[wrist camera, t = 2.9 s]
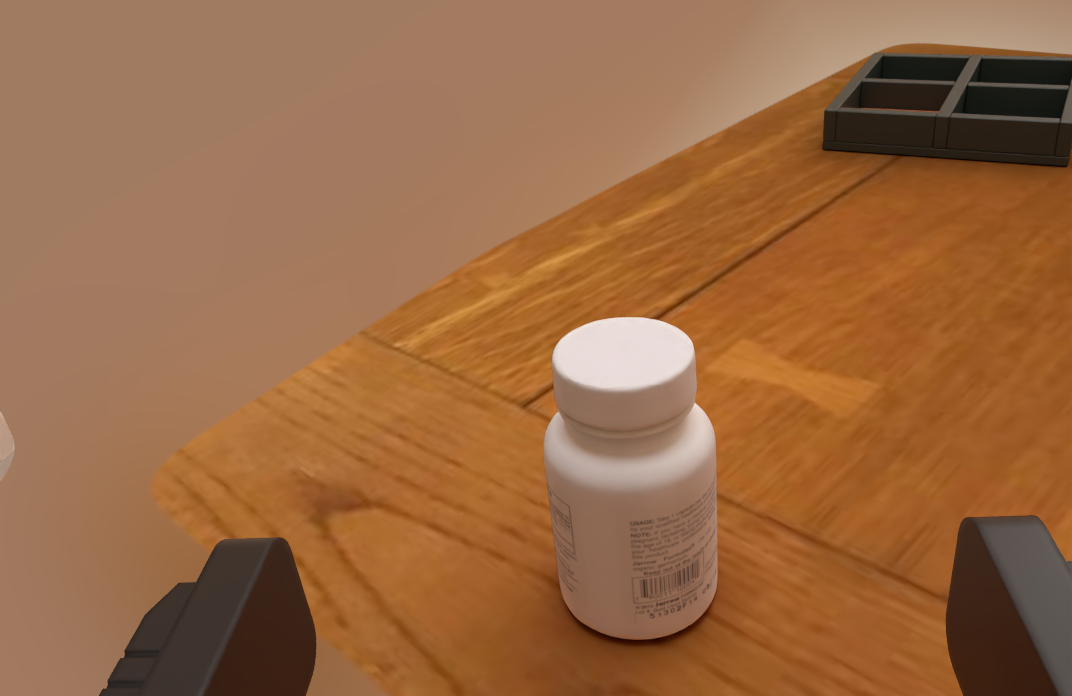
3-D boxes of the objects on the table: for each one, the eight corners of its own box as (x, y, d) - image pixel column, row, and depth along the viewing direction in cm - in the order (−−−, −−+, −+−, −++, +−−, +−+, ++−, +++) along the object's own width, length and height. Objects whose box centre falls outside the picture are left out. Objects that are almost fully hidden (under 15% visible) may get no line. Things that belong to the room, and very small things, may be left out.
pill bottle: (737, 552, 27) (737, 318, 24) (688, 665, 24) (679, 415, 20) (597, 518, 29) (576, 296, 25) (534, 619, 26) (499, 382, 22)
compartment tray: (822, 149, 55) (824, 110, 54) (871, 86, 64) (873, 52, 63) (1067, 166, 49) (1075, 123, 48) (1083, 95, 58) (1090, 57, 57)
